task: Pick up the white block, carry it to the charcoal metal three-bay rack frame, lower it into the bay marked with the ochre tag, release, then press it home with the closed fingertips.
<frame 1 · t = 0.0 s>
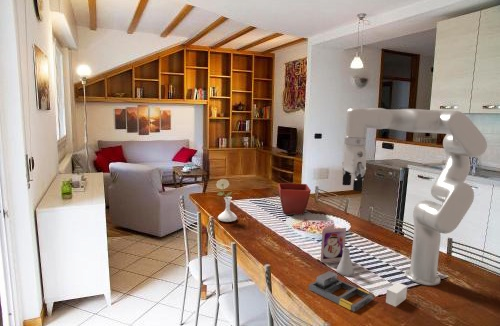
hand: (351, 187, 130), 37 cm above the table, tool pointing down, fingers open, 9 cm apart
rack: (340, 294, 126), on the table
greeting card: (329, 259, 157), on the table
flask: (344, 272, 144), on the table
white block: (395, 300, 123), on the table
flower in vase: (226, 220, 207), on the table
plant pot: (292, 211, 228), on the table
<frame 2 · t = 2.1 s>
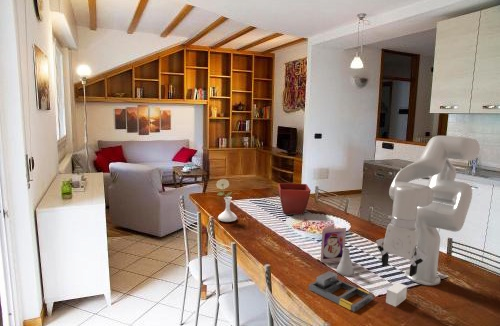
hand: (398, 270, 121), 12 cm above the table, tool pointing down, fingers open, 9 cm apart
nothing on the table moved.
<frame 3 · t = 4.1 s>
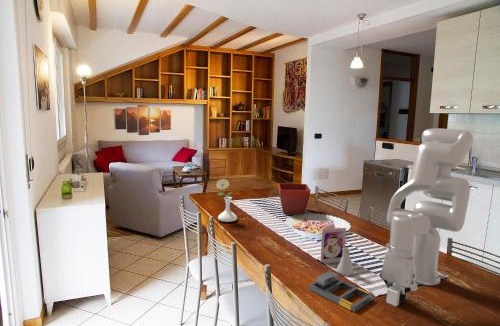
hand: (396, 299, 123), 0 cm above the table, tool pointing down, fingers closed on white block, 3 cm apart
white block: (396, 300, 123), on the table, touching gripper
everything else where it was.
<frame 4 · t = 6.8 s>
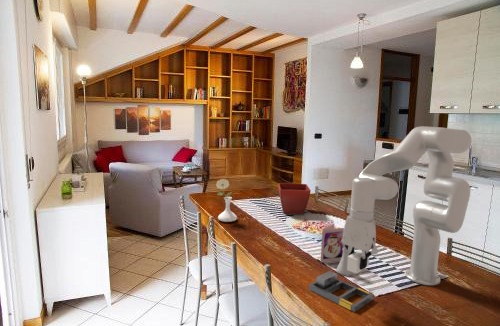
hand: (357, 265, 119), 13 cm above the table, tool pointing down, fingers closed on white block, 3 cm apart
white block: (358, 267, 120), point 12 cm above the table, touching gripper
everything else where it was.
when the fingers open (2 cm above the table, at t = 9.3 s): white block drops 2 cm, resting in rack.
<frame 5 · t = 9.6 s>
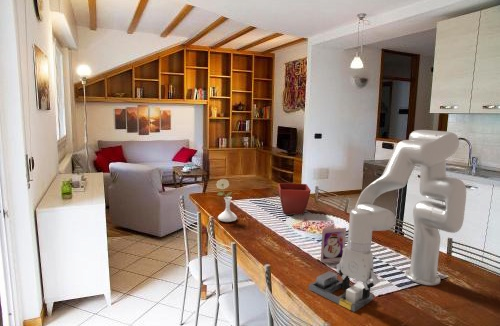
hand: (355, 293, 121), 3 cm above the table, tool pointing down, fingers open, 7 cm apart
white block: (356, 301, 122), resting in rack
everything else where it was.
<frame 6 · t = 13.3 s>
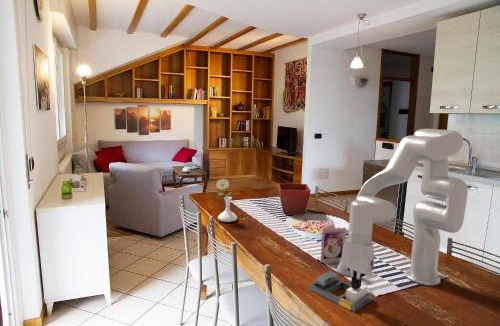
hand: (355, 287, 121), 5 cm above the table, tool pointing down, fingers closed
nothing on the table moved.
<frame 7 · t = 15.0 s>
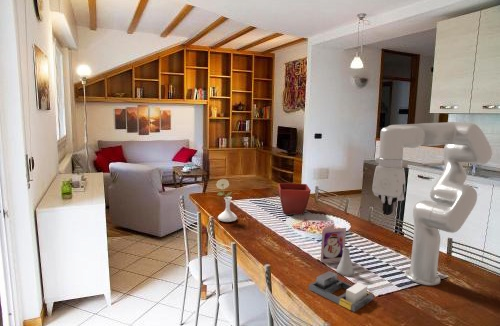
hand: (387, 213, 124), 30 cm above the table, tool pointing down, fingers closed
nothing on the table moved.
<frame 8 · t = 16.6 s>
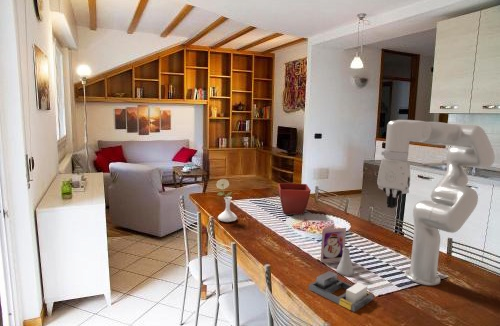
hand: (391, 207, 124), 32 cm above the table, tool pointing down, fingers closed
nothing on the table moved.
at the end: white block 0.8 cm from the target spot on the rack, point 0.0 cm above the rack's base; white block tilted 0°; the gripper is holding nothing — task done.
